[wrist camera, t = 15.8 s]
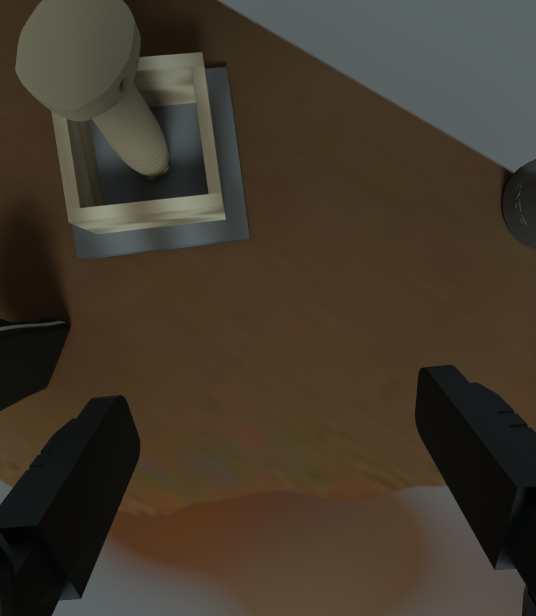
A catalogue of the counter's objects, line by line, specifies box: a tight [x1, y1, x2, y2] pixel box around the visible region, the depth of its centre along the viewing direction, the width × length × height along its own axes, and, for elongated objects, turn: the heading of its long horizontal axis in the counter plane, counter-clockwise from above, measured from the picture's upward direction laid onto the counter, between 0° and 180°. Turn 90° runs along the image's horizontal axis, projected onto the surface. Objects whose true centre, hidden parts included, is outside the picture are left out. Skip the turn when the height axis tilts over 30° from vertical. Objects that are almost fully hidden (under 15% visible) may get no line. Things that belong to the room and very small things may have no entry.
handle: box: [15, 0, 170, 181], centre depth 24 cm, size 5×6×15 cm
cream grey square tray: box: [52, 52, 250, 260], centre depth 30 cm, size 16×16×6 cm
